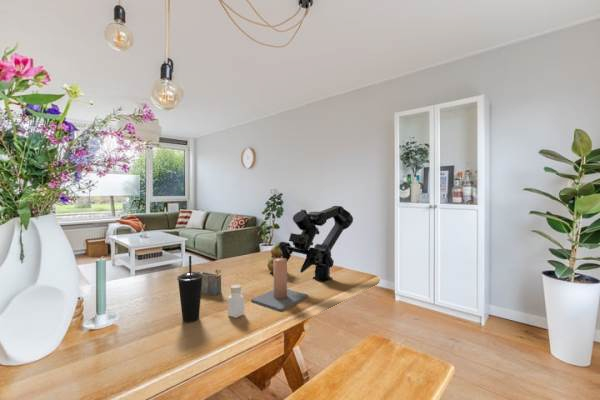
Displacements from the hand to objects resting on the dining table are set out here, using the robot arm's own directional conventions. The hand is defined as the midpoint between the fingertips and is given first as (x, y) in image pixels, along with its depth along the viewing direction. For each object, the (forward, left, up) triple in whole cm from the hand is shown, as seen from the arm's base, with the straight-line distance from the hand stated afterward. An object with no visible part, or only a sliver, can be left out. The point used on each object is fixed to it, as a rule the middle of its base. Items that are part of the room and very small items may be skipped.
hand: (291, 269), depth 111 cm
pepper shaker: (+26, +3, -10) cm, 28 cm away
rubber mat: (+7, +2, -10) cm, 12 cm away
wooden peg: (+7, +2, -9) cm, 11 cm away
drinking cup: (+38, -4, -10) cm, 39 cm away
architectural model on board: (+24, -23, -10) cm, 35 cm away
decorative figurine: (-12, -26, -10) cm, 31 cm away
